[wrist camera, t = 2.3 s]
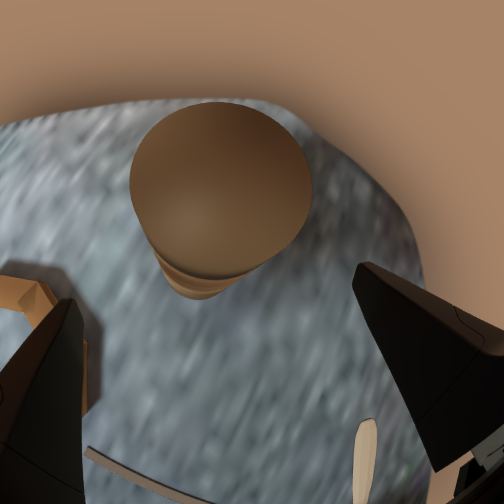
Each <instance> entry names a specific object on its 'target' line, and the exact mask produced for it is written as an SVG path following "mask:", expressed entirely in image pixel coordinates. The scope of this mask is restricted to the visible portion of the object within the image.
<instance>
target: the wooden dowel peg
mask: <svg viewBox="0 0 504 504" xmlns="http://www.w3.org/2000/svg"><path fill="white" fill-rule="evenodd" d="M130 194H131V200H132V204H133V207H134V210H135V213H136V215H137V217H138V219H139V222H140V224H141V226H142V228H143V230H144V233H145V235H146V237H147V239H148V241H149V243H150V246H151V248H152V250H153V252H154V254H155V256H156V258H157V260H158V262H159V264H160V266H161V268H162V270H163V272H164V274H165V276H166V278H167V280H168V282H169V284H170V285H171V287H172V288H173V289H174V290H175V291H176V292H177V293H179V294H180V295H182V296H184V297H186V298H189V299H194V300H202V299H208V298H211V297H213V296H215V295H217V294H218V293H220V292H221V291H223V290H224V289H226V288H227V287H229V286H230V285H232V284H233V283H235V282H236V281H238V280H239V279H241V278H242V277H244V276H245V275H247V274H248V273H250V272H251V271H253V270H254V269H255V268H257V267H258V266H260V265H261V264H263V263H264V262H266V261H267V260H269V259H270V258H272V257H273V256H275V255H276V254H277V253H279V252H280V251H281V250H283V249H284V248H285V247H287V245H288V244H289V243H290V242H291V241H292V240H293V239H294V238H295V237H296V236H297V234H298V233H299V231H300V230H301V228H302V227H303V225H304V223H305V221H306V219H307V216H308V213H309V210H310V206H311V201H312V178H311V173H310V169H309V165H308V163H307V160H306V157H305V155H304V153H303V151H302V150H301V148H300V146H299V145H298V143H297V142H296V140H295V139H294V138H293V137H292V136H291V134H290V133H289V132H288V131H287V130H286V129H285V128H284V127H282V126H281V125H280V124H279V123H278V122H276V121H275V120H273V119H272V118H270V117H269V116H267V115H265V114H264V113H262V112H259V111H257V110H255V109H252V108H249V107H246V106H243V105H238V104H233V103H224V102H209V103H201V104H196V105H192V106H188V107H186V108H183V109H180V110H178V111H176V112H174V113H172V114H170V115H168V116H167V117H165V118H164V119H163V120H161V121H160V122H159V123H157V124H156V125H155V126H154V127H153V128H152V129H151V130H150V131H149V132H148V134H147V135H146V136H145V137H144V139H143V140H142V142H141V143H140V145H139V147H138V149H137V151H136V153H135V155H134V159H133V162H132V165H131V171H130Z"/></svg>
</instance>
